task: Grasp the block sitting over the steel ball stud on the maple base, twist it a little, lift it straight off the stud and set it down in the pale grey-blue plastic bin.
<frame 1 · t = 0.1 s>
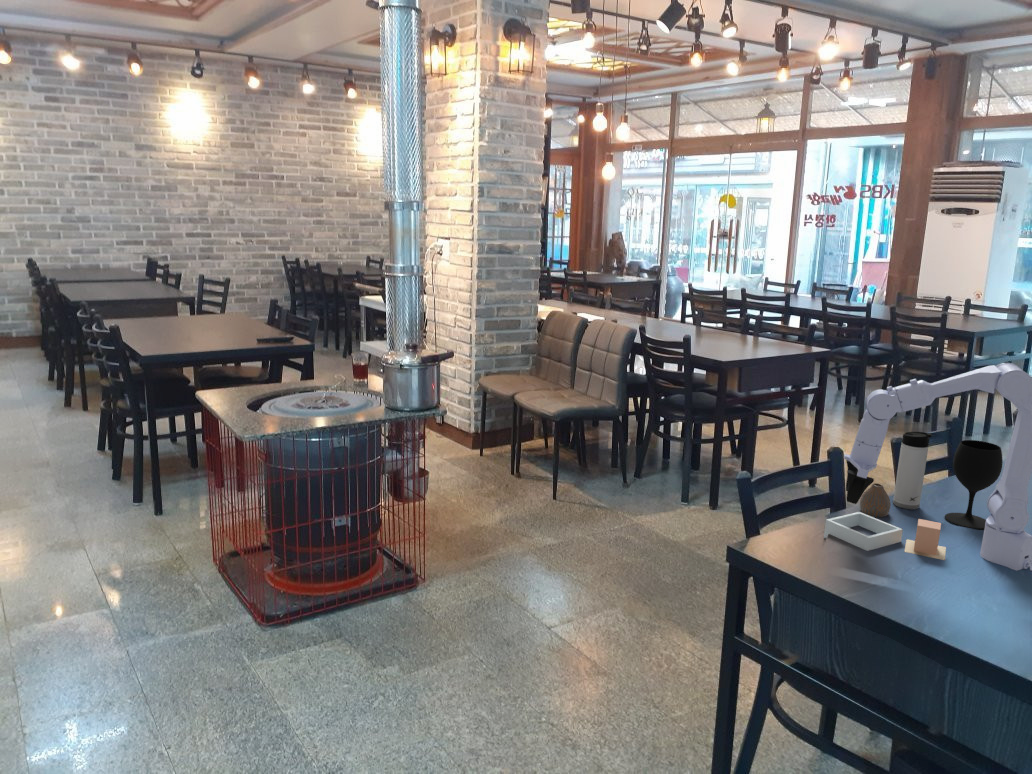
hand: (850, 496, 183), 11 cm above the table, tool pointing down, fingers open, 7 cm apart
block: (925, 549, 178), point 1 cm above the table, touching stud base
bin: (861, 542, 184), on the table
wine glass: (967, 522, 199), on the table
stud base: (924, 555, 178), on the table
travel mug: (906, 506, 209), on the table
vase: (873, 518, 199), on the table
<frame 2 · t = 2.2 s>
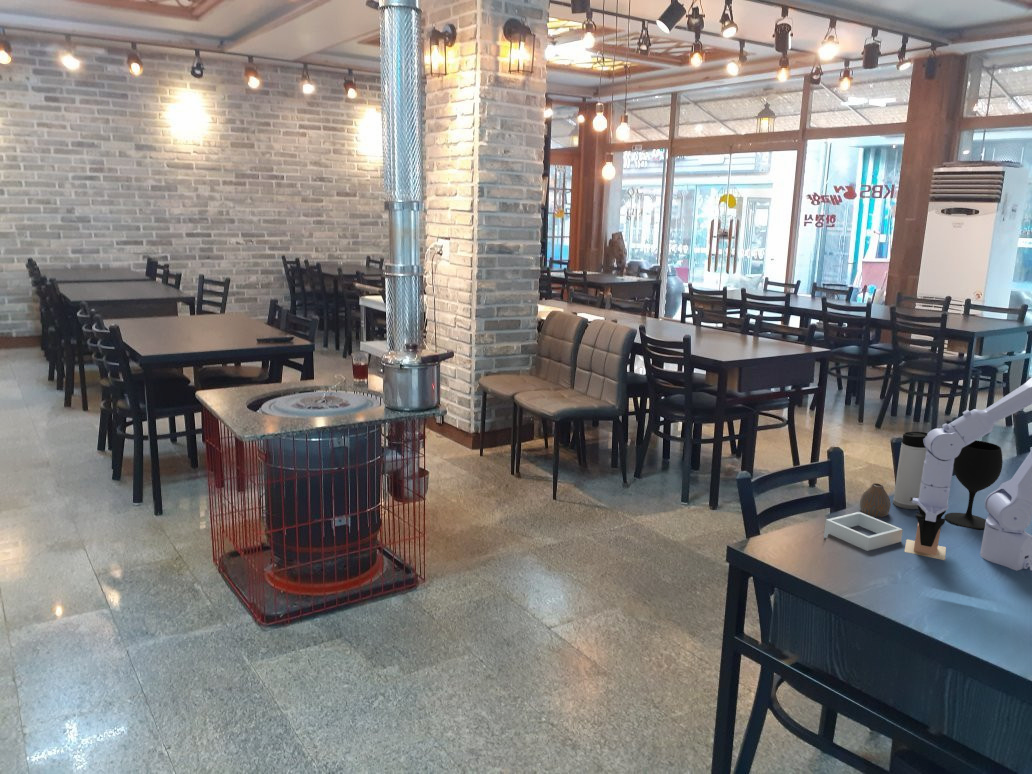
hand: (926, 541, 177), 3 cm above the table, tool pointing down, fingers closed on block, 4 cm apart
block: (925, 549, 178), point 1 cm above the table, touching gripper, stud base
everything else where it was.
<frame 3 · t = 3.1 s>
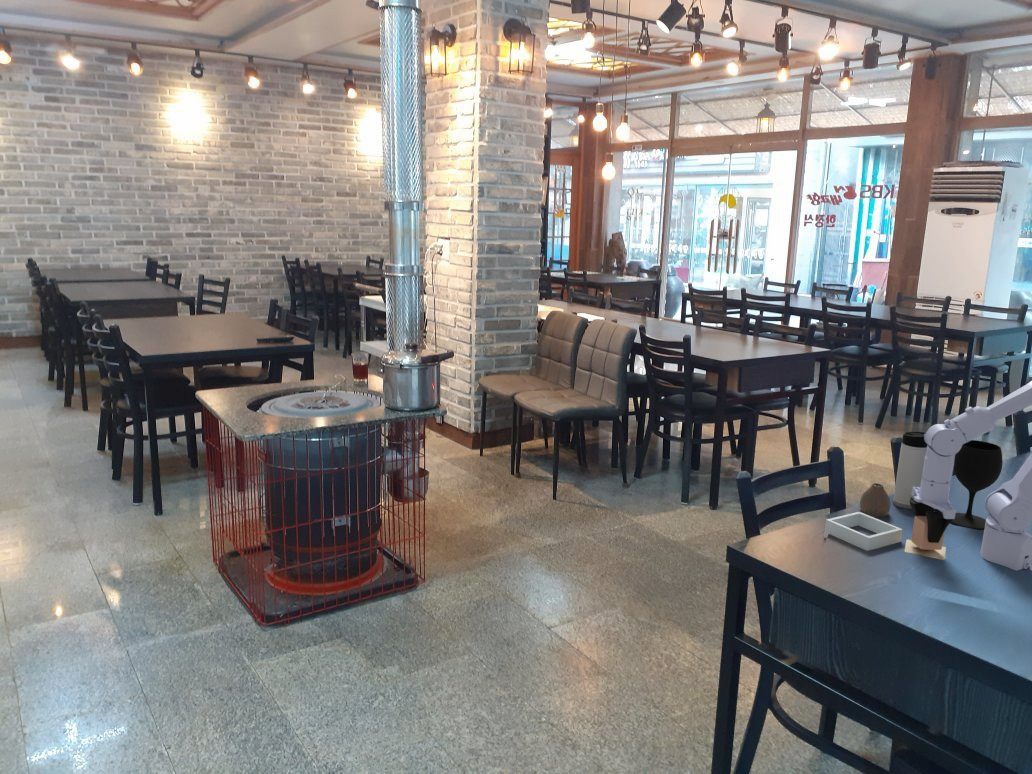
hand: (927, 537, 177), 4 cm above the table, tool pointing down, fingers closed on block, 4 cm apart
block: (926, 545, 177), point 2 cm above the table, touching gripper
everything else where it was.
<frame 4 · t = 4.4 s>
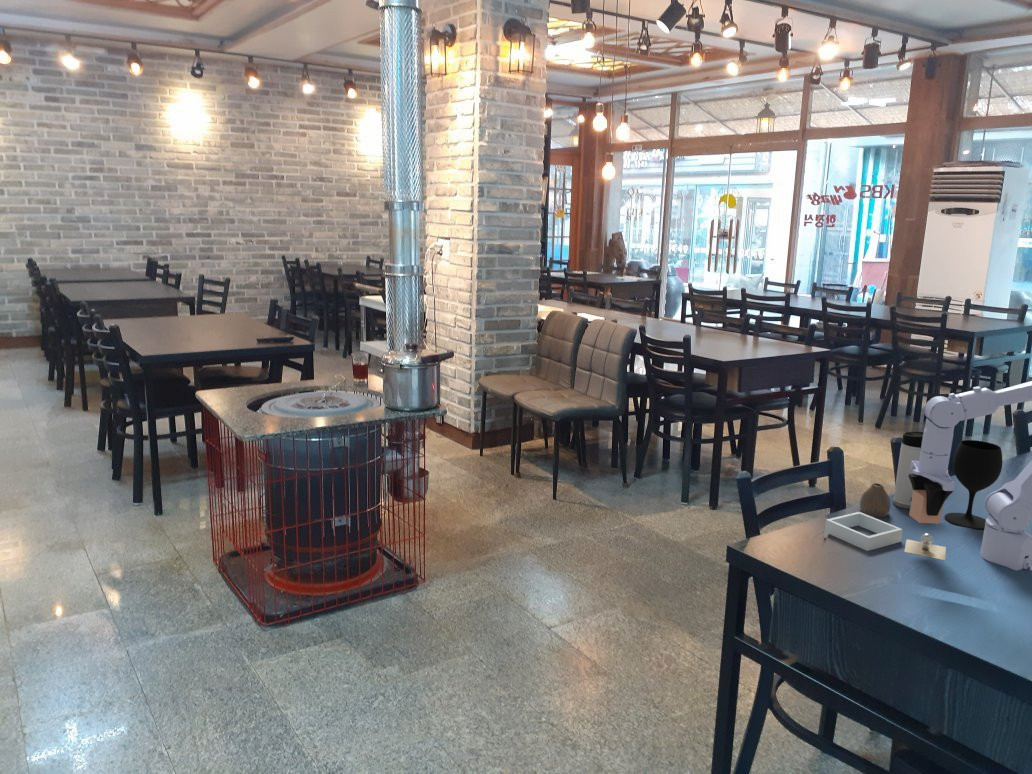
hand: (925, 510, 176), 10 cm above the table, tool pointing down, fingers closed on block, 4 cm apart
block: (924, 519, 176), point 8 cm above the table, touching gripper
everything else where it was.
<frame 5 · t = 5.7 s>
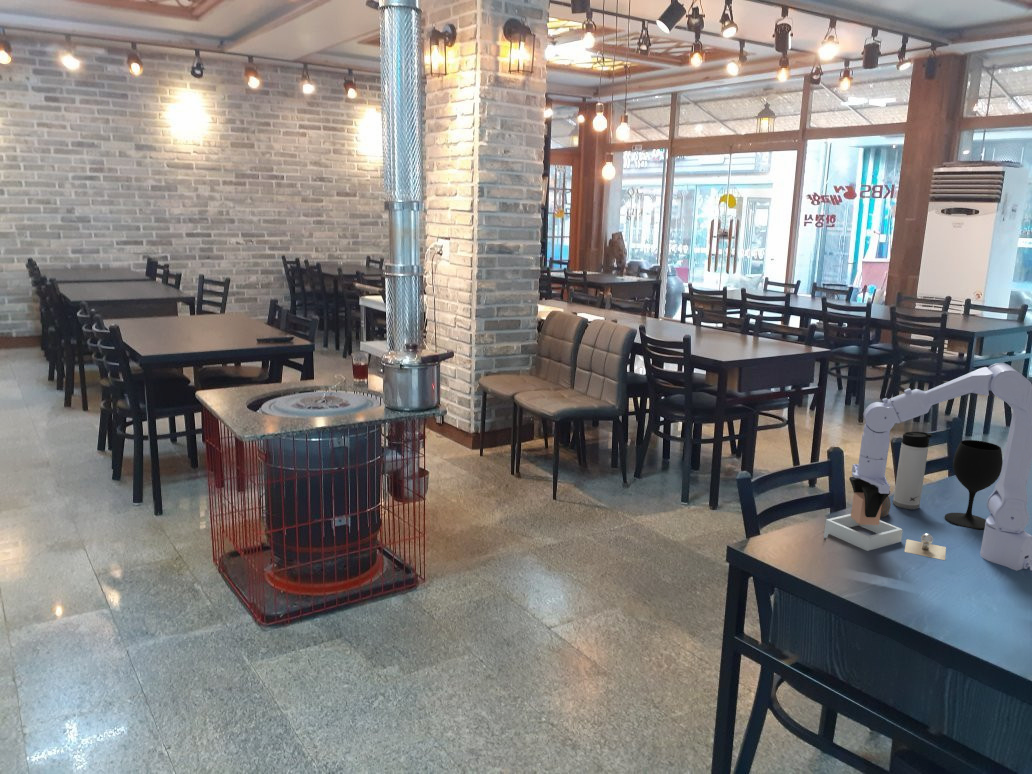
hand: (865, 512, 182), 7 cm above the table, tool pointing down, fingers closed on block, 4 cm apart
block: (864, 520, 183), point 5 cm above the table, touching gripper
everything else where it was.
when the fingers open (5 cm above the table, at t = 6.6 s): block drops 2 cm, resting on bin.
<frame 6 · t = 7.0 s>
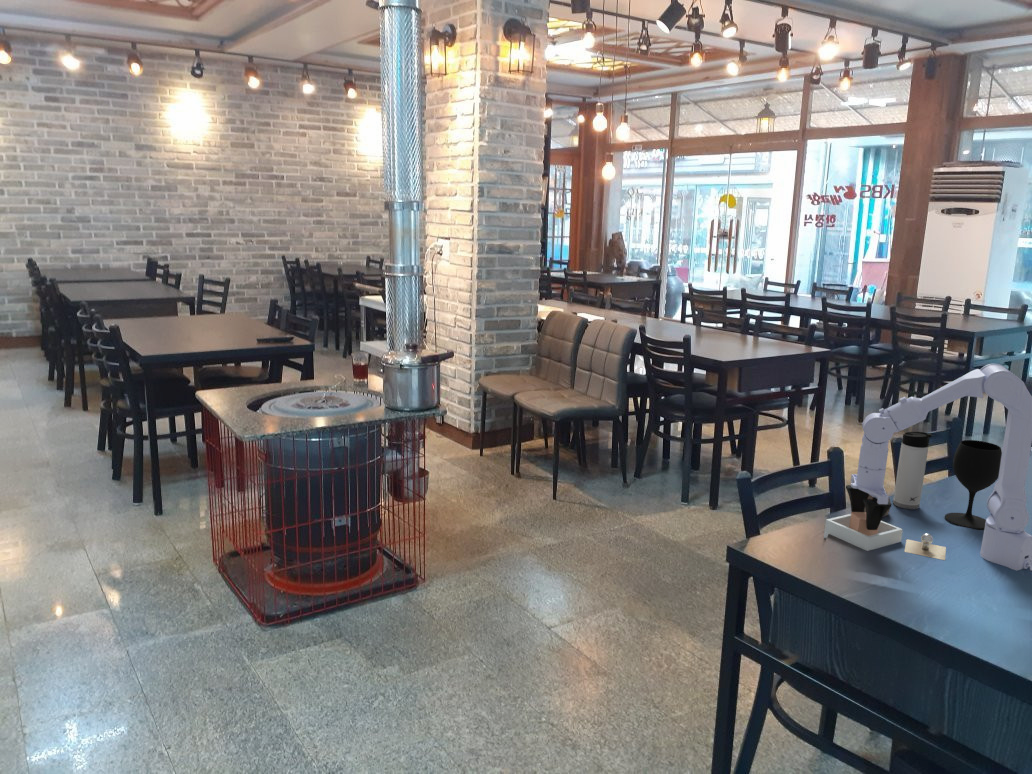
hand: (864, 522, 183), 5 cm above the table, tool pointing down, fingers open, 7 cm apart
block: (861, 540, 184), point 1 cm above the table, touching bin
everything else where it was.
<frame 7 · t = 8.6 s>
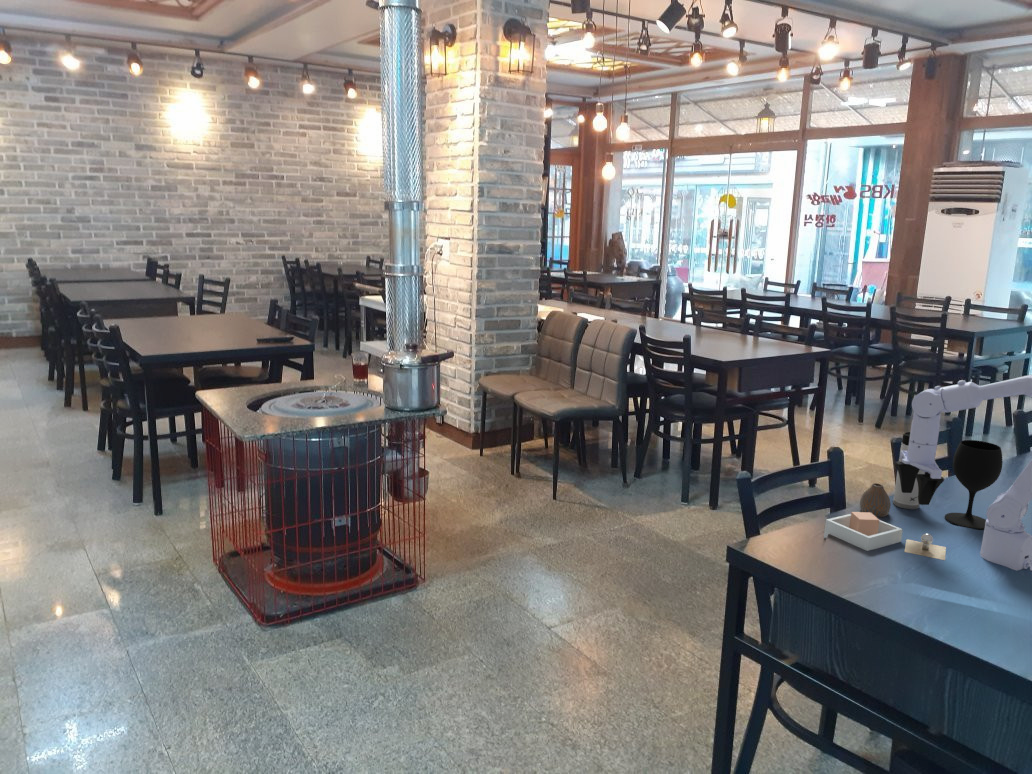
hand: (914, 498, 184), 10 cm above the table, tool pointing down, fingers open, 7 cm apart
nothing on the table moved.
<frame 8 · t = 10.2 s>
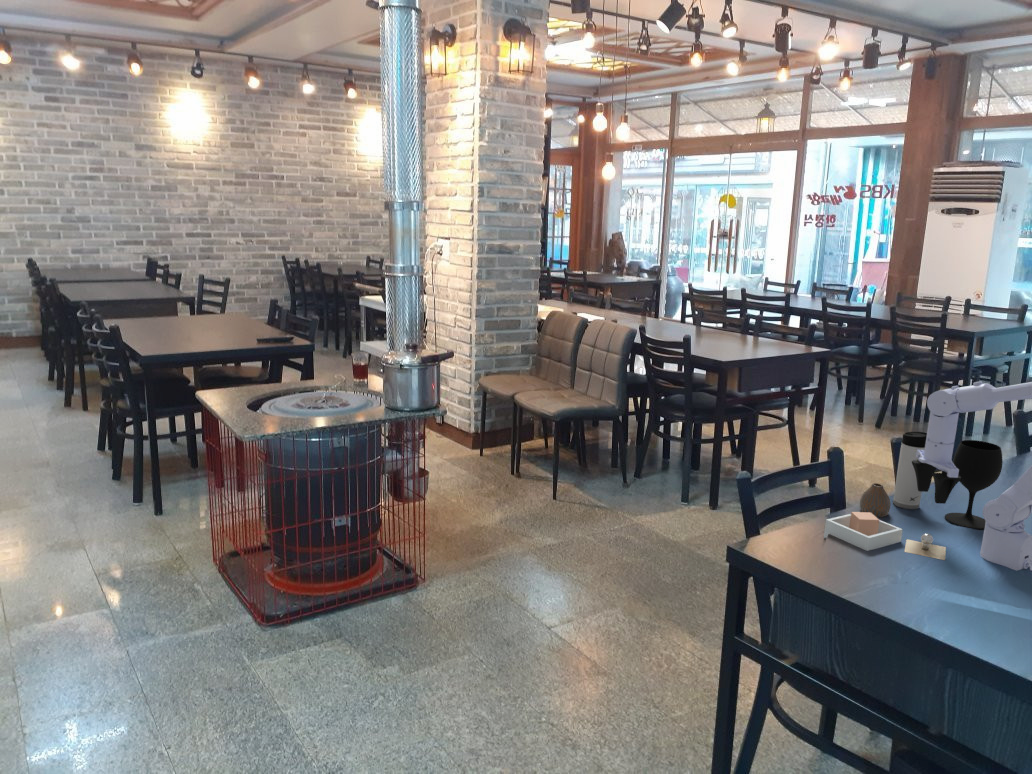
hand: (931, 496, 185), 10 cm above the table, tool pointing down, fingers open, 7 cm apart
nothing on the table moved.
at the end: block 0.0 cm off-centre on the bin, point 0.6 cm above the bin's base; block tilted 0°; the gripper is holding nothing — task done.
